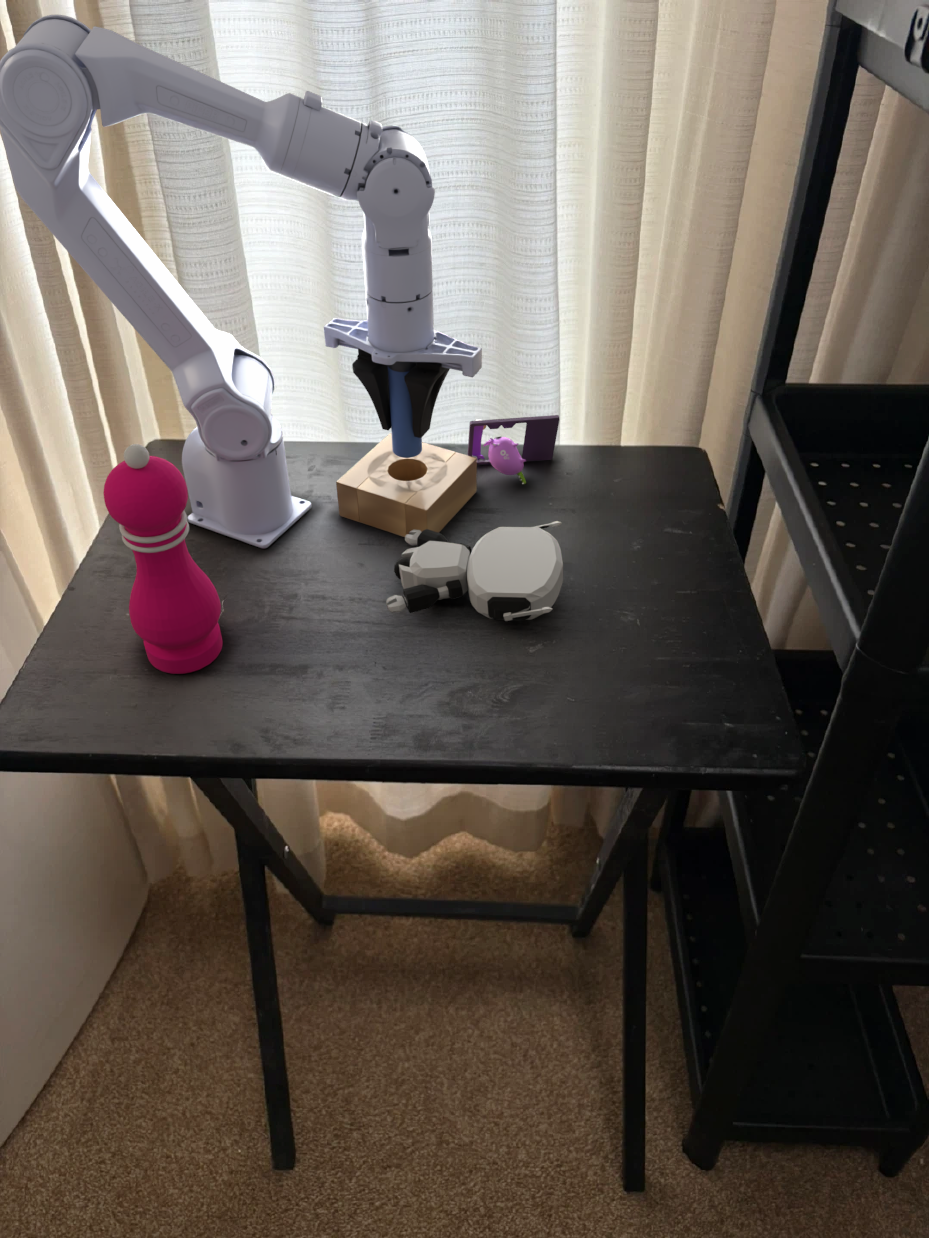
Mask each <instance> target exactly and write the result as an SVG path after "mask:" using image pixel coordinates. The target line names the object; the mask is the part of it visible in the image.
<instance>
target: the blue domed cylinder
mask: <svg viewBox="0 0 929 1238" xmlns="http://www.w3.org/2000/svg"><path fill="white" fill-rule="evenodd" d="M415 366H416V362H400V361H396V362H395V363H394V364H392V365H388V379H389V397H390V414H391V428H390V430H391V431H390V432H391V433H392V448H393V452H394V454H395V455H397V456H399V457H403V458H411V457H415V456H417V455H419V454H420V453H421V451H422V442H423V437H422V438H418V437H414V433H413V426H412V406H411V400H410V396H409V392H408V388H407V386H406V383H405V381H404V376H405V375H406V374H407V373H408V372H409V371H410V370H411V369H412V368H413V367H415Z"/></svg>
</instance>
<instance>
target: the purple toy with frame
mask: <svg viewBox="0 0 929 1238" xmlns="http://www.w3.org/2000/svg"><path fill="white" fill-rule="evenodd" d="M516 424H525V430H524V431H525V432H524V437H523V438H524V440H523V446H522V452H521V453H522V454H520V452H519V449H518V448H517V446H518V445H519V443H516V442H515V441H513V440H512V439H511V438H509V437H505V436H502V435H501V436H497V437H494V438H492V437H490V438H489V439H488V440H487V441H485V442H484V443H483V447H486V446H488V450H487V451H488V453H487V455H488V459H485V456H484V455H483V454H482V437H483V434H484V430H485V429H486V428H487V427H488V429H489V430H498V429H499V428H500V427H502V428H503V429H512V428H513V427H514V426H515V425H516ZM559 425H560V415H559V414H552V415H539V416H538V415H537V416H524V417H509V418H496V419H495V418H493V419H480V418H477V419H474V420H471V421H469V426H468V439H467V441H468V442H467V455H468V456H471V457H475V458H477V466H482V465H491V466H492V467H493V468H494V469H495V470H496V471H498V473H500V474H503V475H506V476H515V475H517V476H518V477H517V478H518V479H519V480H518V481H520V482H521V485H526V484H527V481H526V477H525V475H524V473H523V472H522V471H523V470H524V468H525V467H524V463H526V462H536V461H537V462H539V461H551V460H553V458H554V452H555V447H556V441H557V436H558V430H559Z"/></svg>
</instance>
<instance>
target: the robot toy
mask: <svg viewBox="0 0 929 1238" xmlns="http://www.w3.org/2000/svg"><path fill="white" fill-rule="evenodd" d="M561 525H562V522H561V521H558V520H556V521H552V522H550V523H545V524H541V525H536V526H535V525H534V526H498V527H497V528H495V529H494V528H493V530H491V531H488V532H486V534H484V535H483V536H482V537H480V538H479V539H478V541H477V542H476V543H475V544H474V546H473V547H471V545H468V544H465V543H462V542H460V543H456V542H455V543H454V542H450V541H449V540H448V538H447V537H446V536H444V534H443V533H441V532H439V533H438V532H435V531H432V530H428V529H425V530H423V531H422V532H421V531H420V530H415V529H413V530H412V531H410V532H409V534H407V535H406V536H405V537H404V541H405V542H406V543H407V544H408V545H410V546H411V547H410V548H407V549H406V550H405V551H403V552H402V553H401V558H400V559H398V560H396V562H395V563H394V566H393V567H394V568H393V572H394V575H395V576H396V578H398V579H399V580H400V582H401V586H402V588H403V589H402V591H403V592H402V593H403V595H397V594H393V595H391V596H389V597H387V599H386V601H385V604H386V607H387V608H388V612H390V613H392V614H396V613H401V612H403V611H404V610H406V609H407V611H408V613H409V614H414V613H417V612H421V611H424V610H429V609H430V608H431V607H432V606H433V605H434V604H435V603H436V602H437V601H441V600H444V599H451V600H455V599H459V598H462V597H464V595H465V594H466V593H467V592H468V597H469V601H470V603H471V606H472V607H473V608H474V609H475V611H476V612H477V613H479V614H481V615H483V616H484V617H486V618H488V619H492V620H497V621H505V622H508V621H526V620H528V621H530V620H533V619H536V618H538V617H540V616H542V615H544V614H548V613H550V612H551V611H552V610H553V609H554V608H552V607H553V605H554V604H555V603H556V601H557V599H558V597H559V596H560V591H561V589H562V586H563V583H564V563H563V555H562V550H561V547H560V544H559V541H558V540H557V539H556V538H555V537H554V536H553V535H552V534H551V533H550V532H548V531H547V530H544V529H547V528H552V527H553V528H556V527H560V526H561ZM412 546H416V547H412Z"/></svg>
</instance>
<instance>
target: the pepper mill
mask: <svg viewBox="0 0 929 1238" xmlns="http://www.w3.org/2000/svg"><path fill="white" fill-rule="evenodd" d="M103 500H104V504H105V508H106V510H107V512H108V515H109V516H110V517H111V518H112V519H113V520H114V521H115V522H116V523H118V529H119V532H120V534H121V541H122V542H123V544H124V545H125V546H126V547H127V548H128V549H130V550H131V551H132V553H133V555H134V560H135V565H136V573H135V579H134V582H133V584H132V587H131V590H130V594H129V595H130V596H129V601H128V603H129V604H128V612H129V619H130V623H131V626H132V629H133V630H134V632H135V633H136V635H137V636H139V638H140V639H142V640H143V646H144V649H145V652H146V653H145V654H146V655H147V656H146V657H147V659H148V662H149V663H150V664H151V665H152V666H153V667H154V668H155V669H157V670H159V671H161V672H163V673H167V674H171V675H175V674H177V675H183V674H190V673H193V672H197V671H199V670H202V669H203V668H205V667H207V666H209V665H211V664H212V662H214V661H215V660H216V659H217V658H218V656H219V655H220V653H221V651H222V650H223V644H224V643H223V642H224V641H223V636H222V632H221V627H220V624H219V620H220V617H221V614H222V603H221V599H220V597H219V593H218V590H217V589H216V587H215V585H214V584H213V582H212V580H211V579H210V578H209V576H208V575H207V574H206V573H205V572H204V571H203V569H201V568H200V567H199V565H198V564H197V562H195V560H194V559H193V557H192V556H191V554H190V552H189V550H188V547H187V543H186V537H187V536H188V535H189V532H190V524H189V522H188V519H187V517H188V515H187V512H186V511H185V509H186V507H187V504H188V501H189V494H188V490H187V485H186V480H185V476H184V475H183V474H182V472H181V471H180V470H179V469H178V467H177V466H176V465H174V464H173V463H172V462H171V461H169V460H167V459H165V458H162V457H159V456H156V455H150V452H149V451H148V449H147V448H146V446H144V445H142V444H139V443H133V444H130V445H129V446H127V447H126V448H125V450H124V451H123V461H121V462H119V463H118V464H116V465H115V466H114V467H113V468H112V469H111V471H110V472H109V473H108V474H107V477H106V479H105V482H104V485H103Z"/></svg>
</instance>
